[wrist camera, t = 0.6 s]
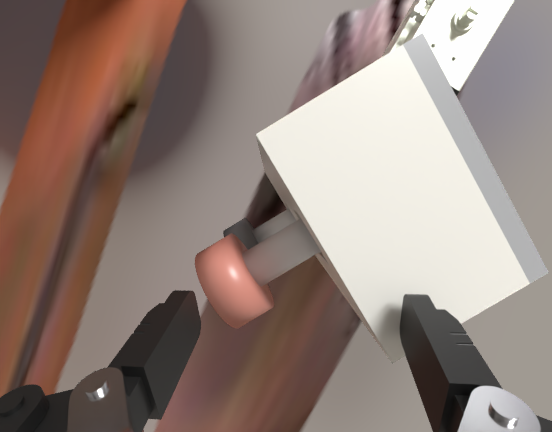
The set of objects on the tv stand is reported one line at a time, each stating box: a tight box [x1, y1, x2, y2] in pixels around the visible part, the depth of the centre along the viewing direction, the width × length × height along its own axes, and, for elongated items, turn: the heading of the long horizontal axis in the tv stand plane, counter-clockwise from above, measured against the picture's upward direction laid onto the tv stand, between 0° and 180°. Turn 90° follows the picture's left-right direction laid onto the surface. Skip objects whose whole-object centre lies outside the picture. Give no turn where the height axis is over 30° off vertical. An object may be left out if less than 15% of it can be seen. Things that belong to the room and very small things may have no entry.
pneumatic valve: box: [381, 0, 515, 96], centre depth 24 cm, size 6×12×12 cm, turn 150°
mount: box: [256, 33, 548, 363], centre depth 21 cm, size 10×7×20 cm
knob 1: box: [223, 209, 296, 250], centre depth 24 cm, size 4×8×4 cm, turn 121°
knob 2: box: [195, 218, 321, 328], centre depth 15 cm, size 4×8×4 cm, turn 121°
